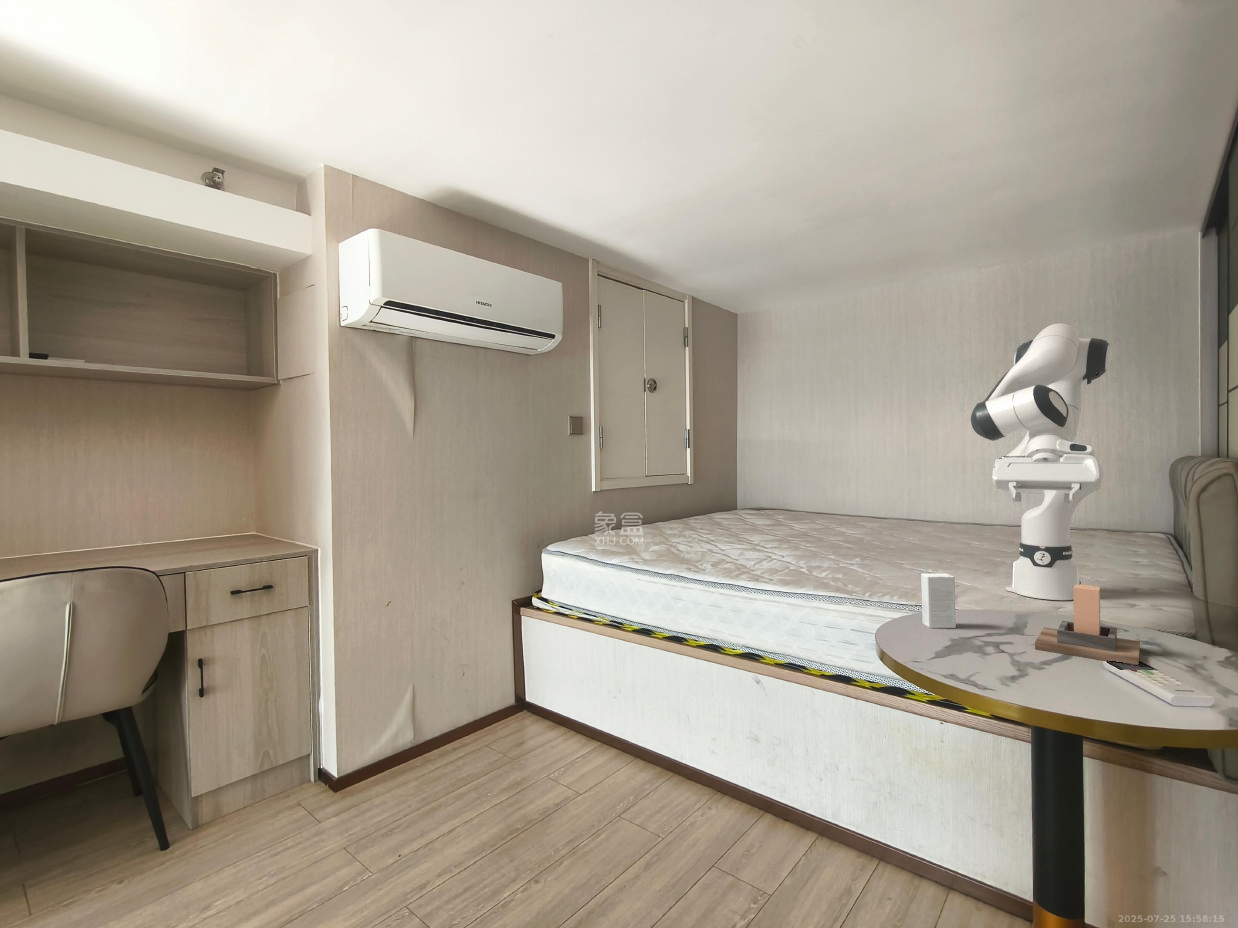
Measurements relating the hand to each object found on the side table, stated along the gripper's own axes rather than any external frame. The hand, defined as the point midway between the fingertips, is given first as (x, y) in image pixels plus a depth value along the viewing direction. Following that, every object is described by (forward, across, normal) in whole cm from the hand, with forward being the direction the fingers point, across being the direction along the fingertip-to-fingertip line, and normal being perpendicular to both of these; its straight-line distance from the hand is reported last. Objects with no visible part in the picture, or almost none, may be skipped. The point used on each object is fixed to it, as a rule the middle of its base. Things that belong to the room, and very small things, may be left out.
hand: (1041, 501), depth 133 cm
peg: (+25, +9, +14) cm, 30 cm away
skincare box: (+27, -19, +15) cm, 36 cm away
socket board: (+26, +9, +15) cm, 31 cm away
